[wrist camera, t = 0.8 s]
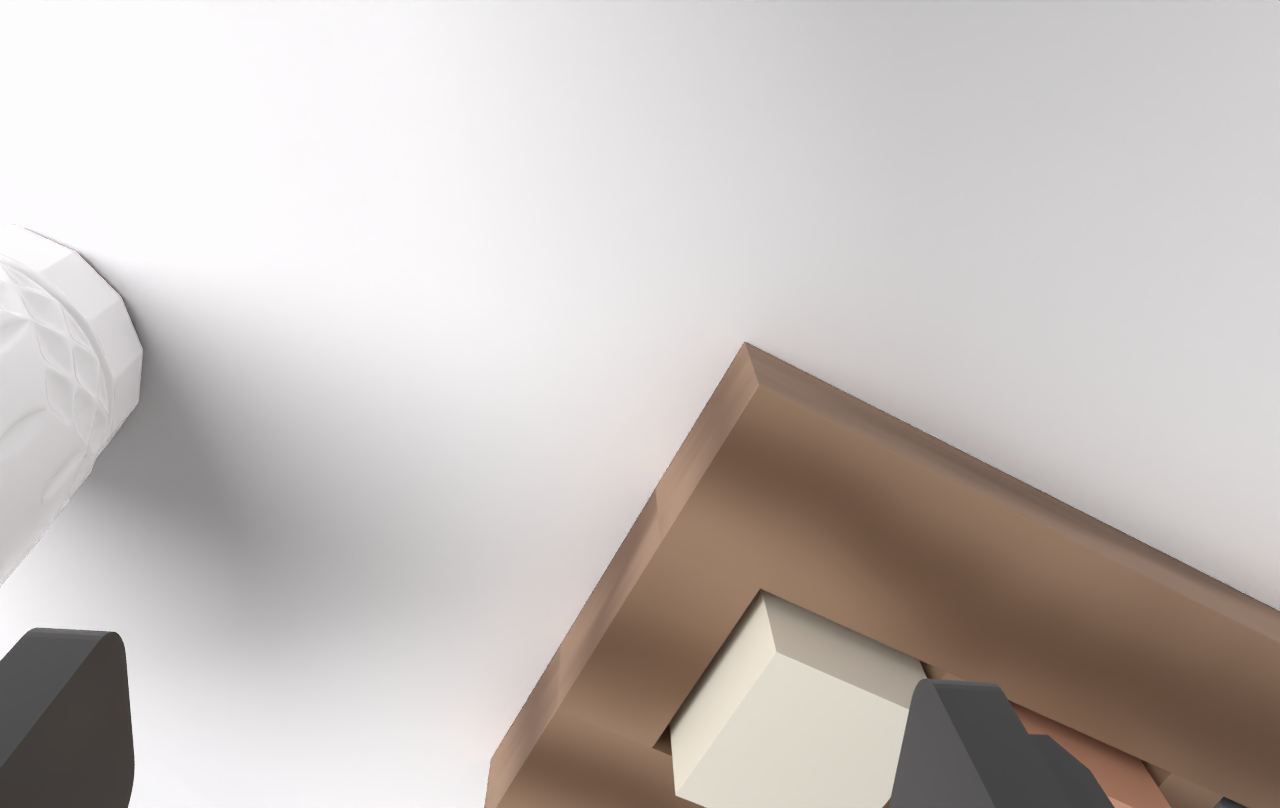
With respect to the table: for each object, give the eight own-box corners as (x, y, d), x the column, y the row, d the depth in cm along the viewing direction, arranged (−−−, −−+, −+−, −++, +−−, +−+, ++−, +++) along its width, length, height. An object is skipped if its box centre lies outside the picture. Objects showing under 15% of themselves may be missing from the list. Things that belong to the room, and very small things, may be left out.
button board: (744, 341, 29) (759, 384, 26) (1489, 717, 35) (1565, 784, 32) (490, 759, 34) (480, 831, 31) (1171, 1021, 40) (1213, 1101, 37)
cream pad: (760, 584, 29) (776, 651, 27) (916, 654, 31) (947, 726, 28) (669, 719, 31) (675, 795, 28) (820, 781, 32) (840, 860, 30)
